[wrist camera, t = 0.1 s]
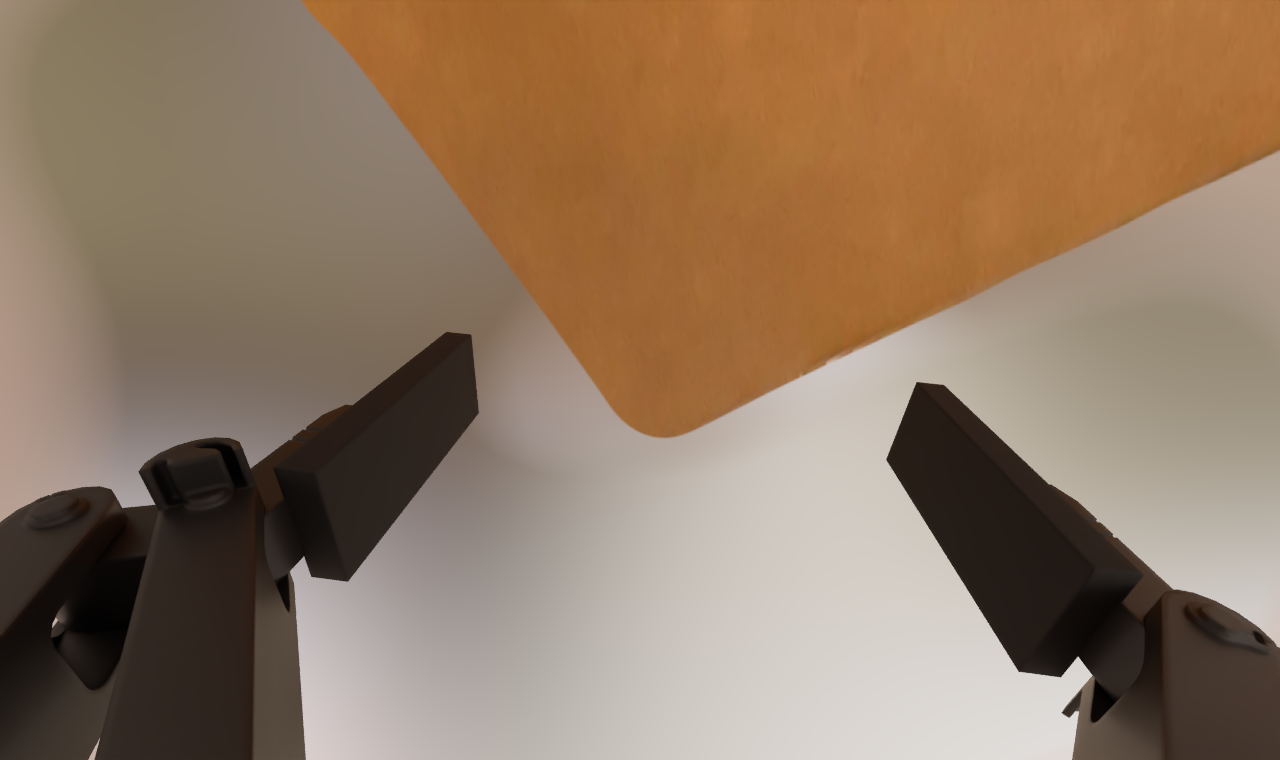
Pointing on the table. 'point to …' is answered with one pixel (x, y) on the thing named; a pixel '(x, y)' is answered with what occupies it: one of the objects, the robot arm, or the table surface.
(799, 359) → the table surface
